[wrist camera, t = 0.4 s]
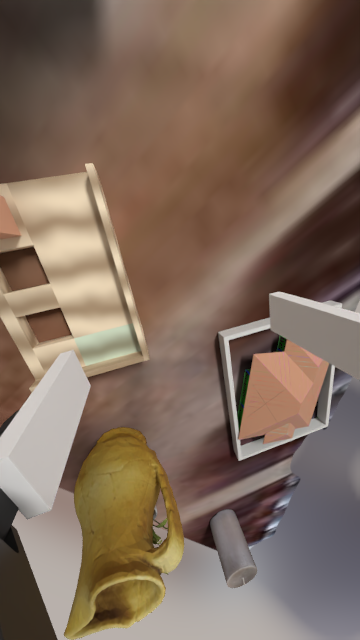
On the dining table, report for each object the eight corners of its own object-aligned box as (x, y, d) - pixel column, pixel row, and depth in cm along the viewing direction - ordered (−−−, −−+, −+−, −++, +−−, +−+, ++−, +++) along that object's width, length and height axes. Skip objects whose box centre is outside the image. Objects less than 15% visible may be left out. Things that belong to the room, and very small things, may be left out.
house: (231, 437, 56) (246, 465, 49) (248, 330, 46) (271, 345, 38) (297, 424, 61) (321, 448, 54) (327, 326, 51) (361, 339, 43)
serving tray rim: (218, 332, 44) (223, 337, 42) (330, 300, 49) (342, 303, 46) (233, 451, 59) (238, 460, 56) (319, 418, 63) (327, 426, 60)
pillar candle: (233, 523, 71) (257, 587, 58) (208, 531, 69) (227, 599, 55) (236, 505, 68) (262, 569, 55) (210, 513, 66) (230, 581, 52)
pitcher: (79, 424, 44) (33, 617, 21) (161, 413, 49) (195, 557, 26) (84, 476, 49) (52, 672, 27) (157, 461, 55) (182, 613, 32)
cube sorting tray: (-52, 198, 28) (-90, 187, 23) (98, 176, 31) (92, 163, 26) (44, 376, 39) (31, 393, 34) (147, 347, 42) (149, 359, 37)
